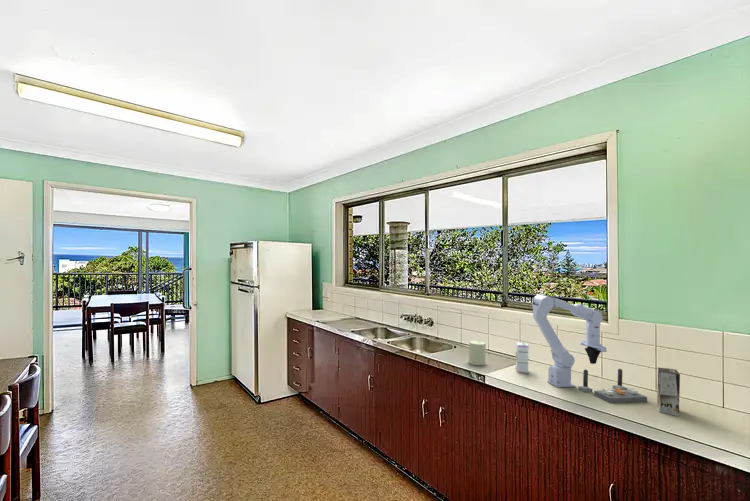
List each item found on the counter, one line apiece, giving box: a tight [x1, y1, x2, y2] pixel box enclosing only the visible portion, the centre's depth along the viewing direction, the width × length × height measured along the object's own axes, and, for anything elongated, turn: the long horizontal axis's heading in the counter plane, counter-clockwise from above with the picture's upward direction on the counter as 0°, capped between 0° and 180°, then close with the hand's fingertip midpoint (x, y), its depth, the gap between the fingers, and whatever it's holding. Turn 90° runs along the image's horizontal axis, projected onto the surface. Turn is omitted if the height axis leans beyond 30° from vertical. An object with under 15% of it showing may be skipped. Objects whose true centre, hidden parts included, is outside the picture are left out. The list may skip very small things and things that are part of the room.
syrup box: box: [515, 342, 530, 373], centre depth 201 cm, size 6×6×14 cm
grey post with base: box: [612, 368, 628, 390], centre depth 176 cm, size 4×4×10 cm
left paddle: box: [602, 387, 614, 395], centre depth 163 cm, size 2×3×2 cm
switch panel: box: [593, 389, 648, 404], centre depth 164 cm, size 18×9×2 cm, turn 100°
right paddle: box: [626, 387, 639, 394], centre depth 165 cm, size 2×3×2 cm
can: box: [468, 340, 487, 366], centre depth 214 cm, size 9×9×12 cm
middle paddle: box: [614, 388, 626, 394], centre depth 164 cm, size 2×3×2 cm
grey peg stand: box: [577, 369, 593, 393], centre depth 173 cm, size 4×4×10 cm
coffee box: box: [656, 367, 681, 417], centre depth 152 cm, size 9×6×16 cm
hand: (593, 363), depth 181 cm, fingers closed
